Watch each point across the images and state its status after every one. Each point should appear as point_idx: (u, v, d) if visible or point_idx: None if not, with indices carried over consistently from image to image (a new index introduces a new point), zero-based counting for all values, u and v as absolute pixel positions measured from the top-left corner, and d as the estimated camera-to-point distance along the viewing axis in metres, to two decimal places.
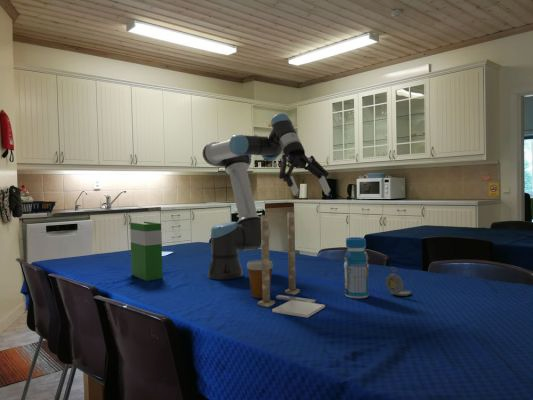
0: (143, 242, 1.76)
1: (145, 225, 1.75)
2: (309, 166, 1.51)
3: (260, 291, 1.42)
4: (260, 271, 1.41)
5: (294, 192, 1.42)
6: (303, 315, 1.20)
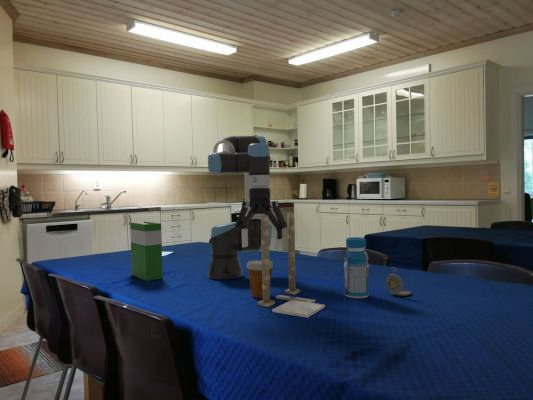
0: (143, 242, 1.76)
1: (145, 225, 1.75)
2: None
3: (260, 291, 1.42)
4: (260, 271, 1.41)
5: None
6: (303, 315, 1.20)
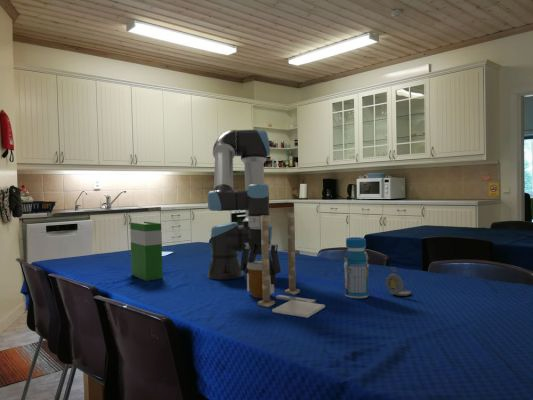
0: (143, 242, 1.76)
1: (145, 225, 1.75)
2: None
3: (260, 291, 1.42)
4: (260, 271, 1.41)
5: None
6: (303, 315, 1.20)
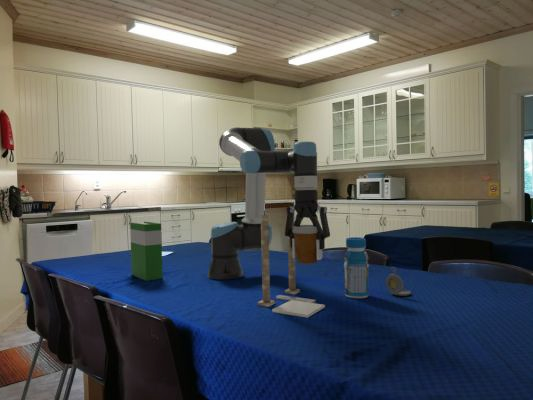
0: (143, 242, 1.76)
1: (145, 225, 1.75)
2: None
3: (308, 256, 1.32)
4: (308, 235, 1.31)
5: None
6: (303, 315, 1.20)
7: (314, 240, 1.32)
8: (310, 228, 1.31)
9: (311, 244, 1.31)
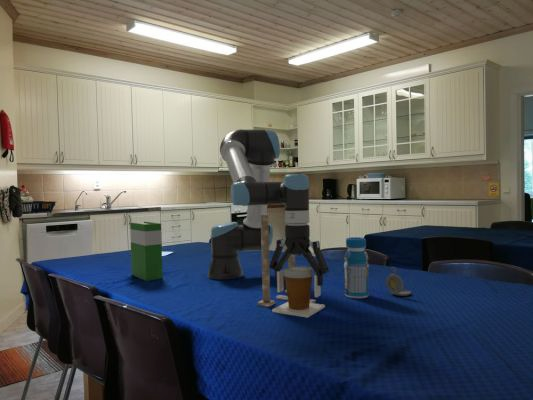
0: (143, 242, 1.76)
1: (145, 225, 1.75)
2: None
3: (299, 302, 1.24)
4: (300, 279, 1.23)
5: None
6: (303, 315, 1.20)
7: (306, 284, 1.24)
8: (302, 272, 1.23)
9: (303, 289, 1.24)
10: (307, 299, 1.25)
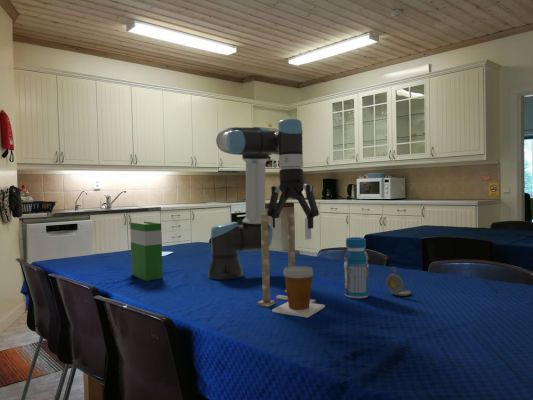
0: (143, 242, 1.76)
1: (145, 225, 1.75)
2: None
3: (299, 302, 1.24)
4: (300, 279, 1.23)
5: None
6: (303, 315, 1.20)
7: (306, 284, 1.24)
8: (302, 272, 1.23)
9: (303, 289, 1.24)
10: (307, 299, 1.25)
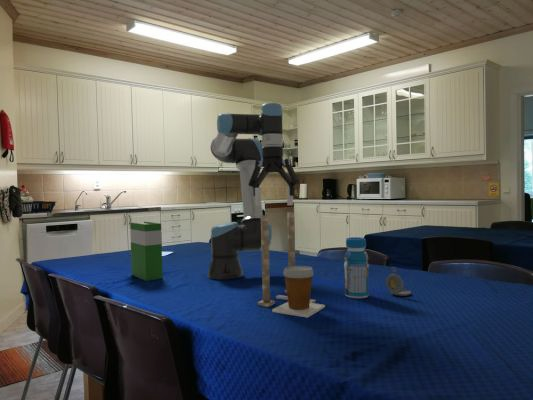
0: (143, 242, 1.76)
1: (145, 225, 1.75)
2: None
3: (299, 302, 1.24)
4: (300, 279, 1.23)
5: None
6: (303, 315, 1.20)
7: (306, 284, 1.24)
8: (302, 272, 1.23)
9: (303, 289, 1.24)
10: (307, 299, 1.25)
